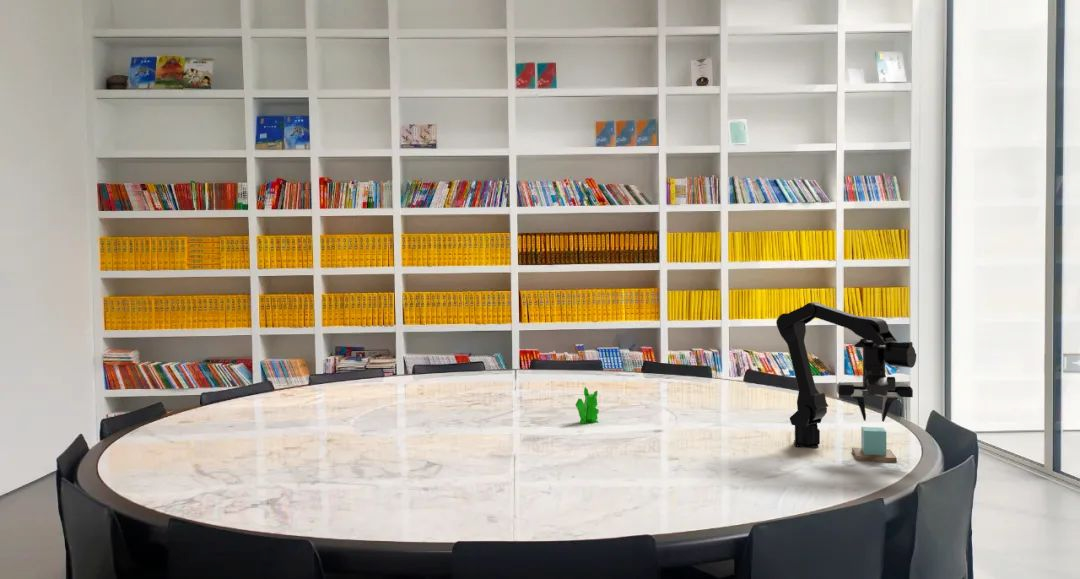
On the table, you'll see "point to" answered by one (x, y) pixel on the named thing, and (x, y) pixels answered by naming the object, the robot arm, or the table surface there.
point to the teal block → (873, 441)
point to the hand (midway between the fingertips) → (873, 420)
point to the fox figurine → (588, 408)
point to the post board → (874, 456)
